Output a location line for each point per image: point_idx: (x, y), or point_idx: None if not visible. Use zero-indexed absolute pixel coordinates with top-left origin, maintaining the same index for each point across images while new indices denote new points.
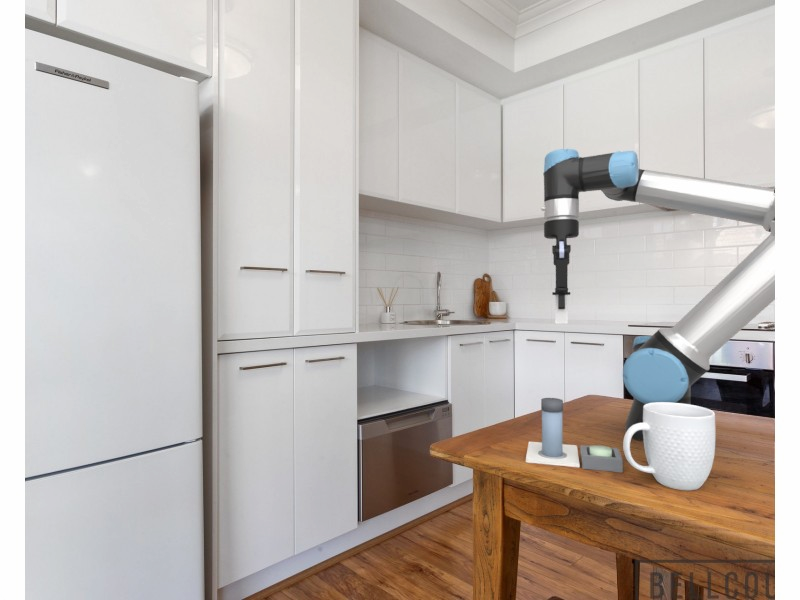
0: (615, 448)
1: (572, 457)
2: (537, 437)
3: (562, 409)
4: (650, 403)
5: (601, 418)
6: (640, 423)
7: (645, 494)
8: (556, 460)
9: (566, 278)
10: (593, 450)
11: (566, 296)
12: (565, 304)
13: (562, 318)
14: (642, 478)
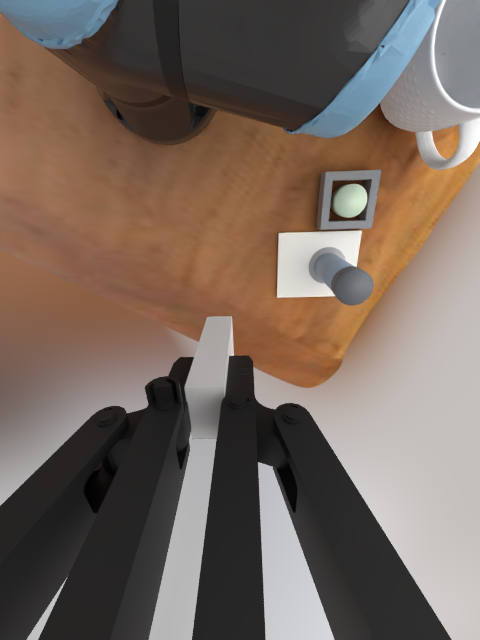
0: (328, 176)
1: (335, 239)
2: (241, 287)
3: (356, 267)
4: (442, 89)
5: (81, 184)
6: (475, 130)
7: (449, 148)
8: (350, 259)
9: (356, 494)
10: (360, 212)
11: (225, 387)
12: (228, 365)
13: (231, 342)
14: (392, 144)
